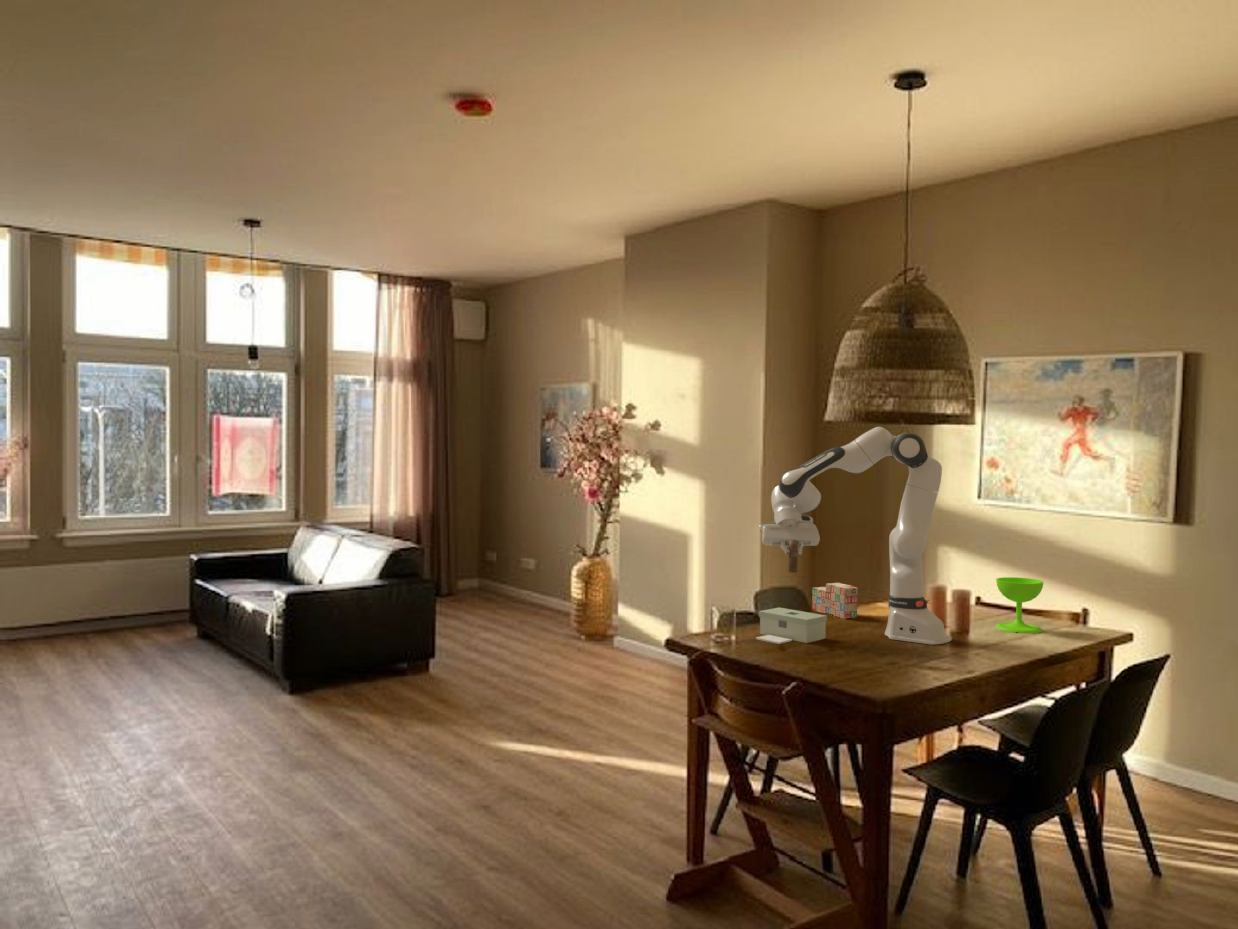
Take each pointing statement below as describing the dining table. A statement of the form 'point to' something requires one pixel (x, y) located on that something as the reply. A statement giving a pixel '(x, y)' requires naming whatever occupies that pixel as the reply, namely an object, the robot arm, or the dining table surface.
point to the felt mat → (773, 639)
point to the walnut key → (793, 555)
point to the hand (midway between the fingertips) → (793, 553)
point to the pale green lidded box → (793, 624)
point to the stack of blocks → (836, 600)
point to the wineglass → (1019, 601)
